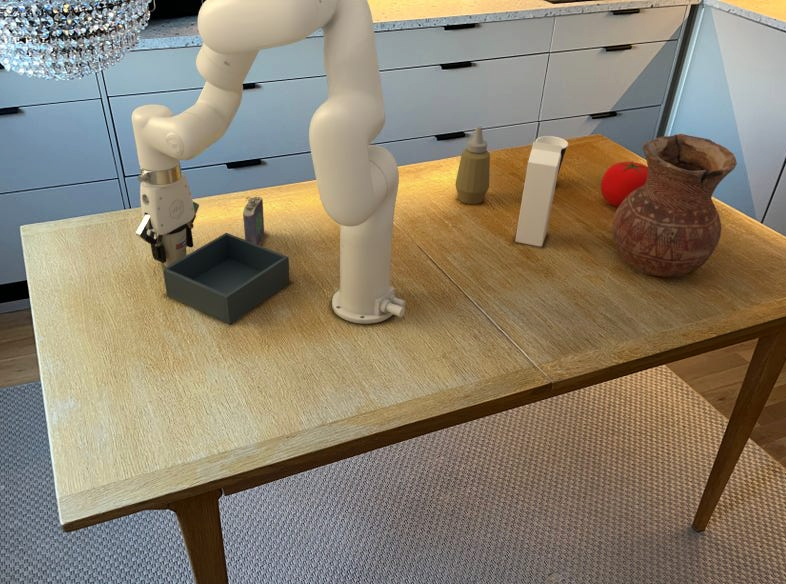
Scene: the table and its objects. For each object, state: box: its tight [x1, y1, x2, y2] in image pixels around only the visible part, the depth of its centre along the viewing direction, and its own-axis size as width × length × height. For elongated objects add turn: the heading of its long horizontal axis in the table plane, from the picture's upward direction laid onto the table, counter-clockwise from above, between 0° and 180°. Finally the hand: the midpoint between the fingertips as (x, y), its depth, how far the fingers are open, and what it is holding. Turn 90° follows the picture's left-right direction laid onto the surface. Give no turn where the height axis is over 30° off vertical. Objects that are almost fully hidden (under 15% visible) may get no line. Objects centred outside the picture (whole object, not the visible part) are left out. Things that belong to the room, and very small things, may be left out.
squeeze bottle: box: [454, 125, 491, 205], centre depth 179 cm, size 8×8×18 cm
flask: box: [242, 196, 266, 246], centre depth 162 cm, size 9×3×11 cm, turn 172°
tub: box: [162, 232, 291, 325], centre depth 149 cm, size 16×18×6 cm
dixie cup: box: [535, 135, 569, 178], centre depth 189 cm, size 8×8×11 cm
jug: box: [611, 133, 738, 278], centre depth 155 cm, size 22×21×25 cm
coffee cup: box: [154, 223, 187, 268], centre depth 155 cm, size 7×7×10 cm
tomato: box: [600, 160, 648, 209], centre depth 181 cm, size 12×12×10 cm
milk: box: [514, 141, 562, 247], centre depth 163 cm, size 6×6×22 cm
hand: (173, 252), depth 157 cm, fingers closed on coffee cup, 7 cm apart
